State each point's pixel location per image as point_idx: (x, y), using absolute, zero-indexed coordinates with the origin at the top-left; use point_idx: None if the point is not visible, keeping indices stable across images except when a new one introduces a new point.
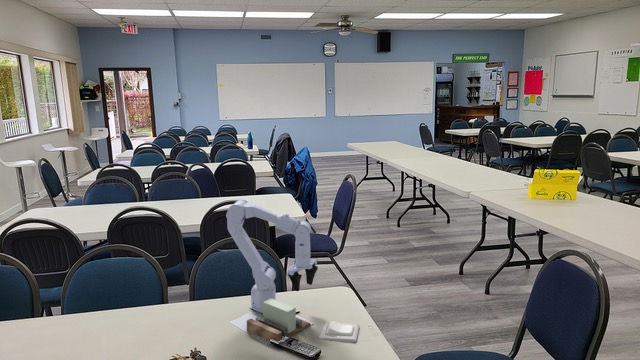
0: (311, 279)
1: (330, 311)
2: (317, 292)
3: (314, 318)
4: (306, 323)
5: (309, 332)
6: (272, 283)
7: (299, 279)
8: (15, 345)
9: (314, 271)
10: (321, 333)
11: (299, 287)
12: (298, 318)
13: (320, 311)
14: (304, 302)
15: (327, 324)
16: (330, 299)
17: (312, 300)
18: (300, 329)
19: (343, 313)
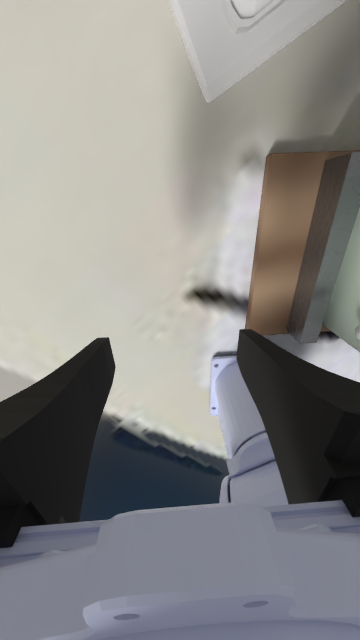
0: (92, 362)
1: (87, 182)
2: (24, 351)
3: (197, 196)
4: (285, 169)
5: (327, 104)
6: (262, 461)
7: (321, 383)
8: None
9: (23, 413)
10: (320, 11)
11: (253, 338)
12: (262, 239)
13: (126, 224)
14: (121, 330)
15: (220, 58)
16: (9, 272)
17: (85, 320)
18: (347, 151)
19: (40, 93)
